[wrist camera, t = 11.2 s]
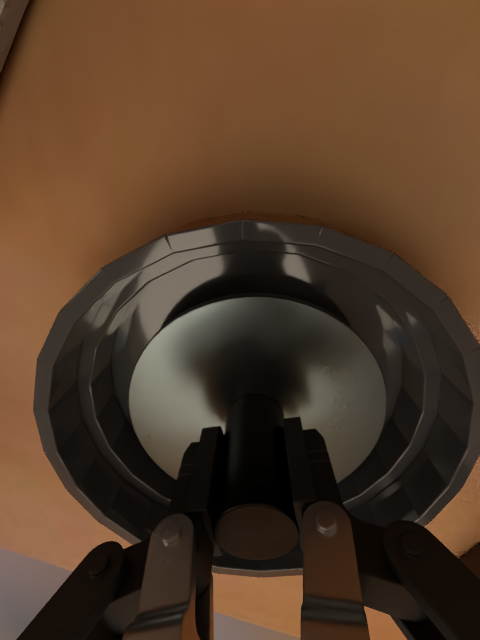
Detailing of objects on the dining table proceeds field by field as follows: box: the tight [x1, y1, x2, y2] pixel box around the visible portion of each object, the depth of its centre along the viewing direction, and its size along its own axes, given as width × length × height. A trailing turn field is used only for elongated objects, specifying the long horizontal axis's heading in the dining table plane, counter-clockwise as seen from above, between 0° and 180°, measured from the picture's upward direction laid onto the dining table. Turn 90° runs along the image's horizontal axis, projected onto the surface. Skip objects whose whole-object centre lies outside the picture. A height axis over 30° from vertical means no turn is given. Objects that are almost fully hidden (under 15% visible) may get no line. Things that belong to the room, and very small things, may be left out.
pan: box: [33, 211, 480, 577], centre depth 14 cm, size 17×17×4 cm
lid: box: [128, 293, 387, 560], centre depth 12 cm, size 12×12×6 cm
